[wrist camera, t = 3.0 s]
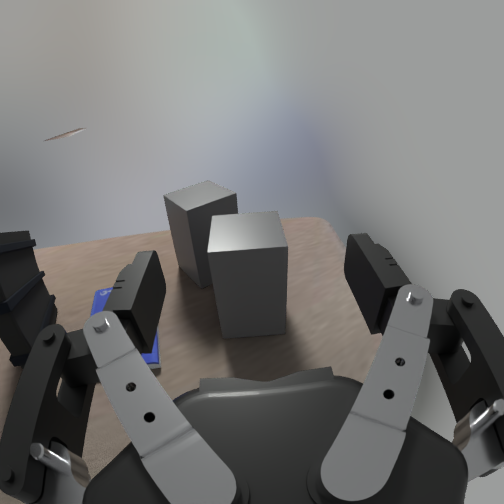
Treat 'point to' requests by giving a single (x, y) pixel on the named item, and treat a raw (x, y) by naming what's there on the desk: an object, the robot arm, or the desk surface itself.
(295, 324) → the desk surface
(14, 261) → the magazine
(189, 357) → the desk surface
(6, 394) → the desk surface
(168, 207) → the grey tall block
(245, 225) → the cube cover
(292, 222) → the desk surface
